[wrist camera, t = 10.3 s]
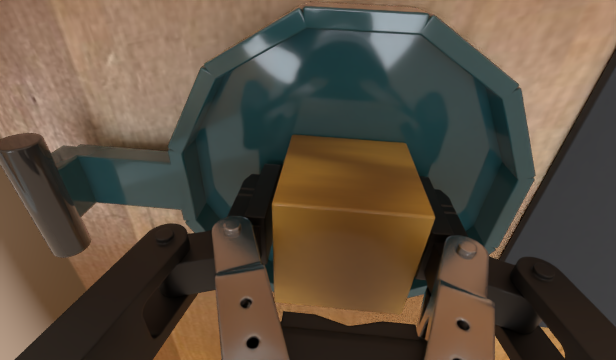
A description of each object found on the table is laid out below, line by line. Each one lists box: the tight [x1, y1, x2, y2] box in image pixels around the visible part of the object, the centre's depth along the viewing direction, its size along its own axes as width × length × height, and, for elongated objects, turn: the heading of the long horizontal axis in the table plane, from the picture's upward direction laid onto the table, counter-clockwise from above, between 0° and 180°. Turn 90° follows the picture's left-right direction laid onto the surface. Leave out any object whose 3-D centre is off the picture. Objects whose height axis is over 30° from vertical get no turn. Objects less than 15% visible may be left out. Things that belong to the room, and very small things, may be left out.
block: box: [272, 135, 435, 315], centre depth 12 cm, size 5×5×5 cm
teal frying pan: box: [0, 1, 535, 298], centre depth 13 cm, size 19×14×4 cm
